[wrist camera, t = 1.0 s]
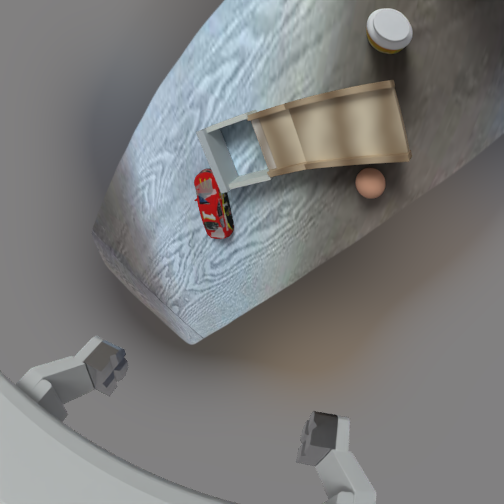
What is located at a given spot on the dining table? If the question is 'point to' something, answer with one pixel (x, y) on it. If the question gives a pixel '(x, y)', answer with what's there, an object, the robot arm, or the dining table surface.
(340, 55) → the dining table surface
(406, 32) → the supplement bottle
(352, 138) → the ramp
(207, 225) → the race car
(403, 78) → the dining table surface
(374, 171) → the ball
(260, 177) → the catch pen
